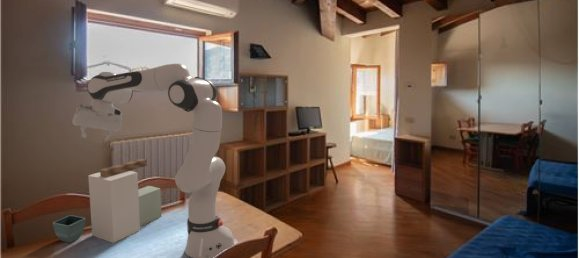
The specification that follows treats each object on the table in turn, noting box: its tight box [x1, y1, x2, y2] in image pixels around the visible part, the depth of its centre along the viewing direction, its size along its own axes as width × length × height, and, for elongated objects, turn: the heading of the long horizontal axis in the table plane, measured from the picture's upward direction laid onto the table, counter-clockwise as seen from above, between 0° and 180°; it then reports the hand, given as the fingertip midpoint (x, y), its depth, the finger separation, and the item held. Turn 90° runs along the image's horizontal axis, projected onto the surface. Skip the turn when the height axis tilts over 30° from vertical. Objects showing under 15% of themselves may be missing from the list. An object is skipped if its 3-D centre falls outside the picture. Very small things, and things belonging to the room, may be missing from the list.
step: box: [138, 185, 162, 227], centre depth 175 cm, size 15×8×15 cm, turn 154°
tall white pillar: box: [87, 170, 141, 244], centre depth 160 cm, size 14×14×28 cm
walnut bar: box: [99, 158, 148, 177], centre depth 163 cm, size 22×4×3 cm, turn 154°
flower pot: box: [52, 214, 86, 243], centre depth 155 cm, size 9×9×9 cm
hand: (94, 138), depth 157 cm, fingers open, 8 cm apart
